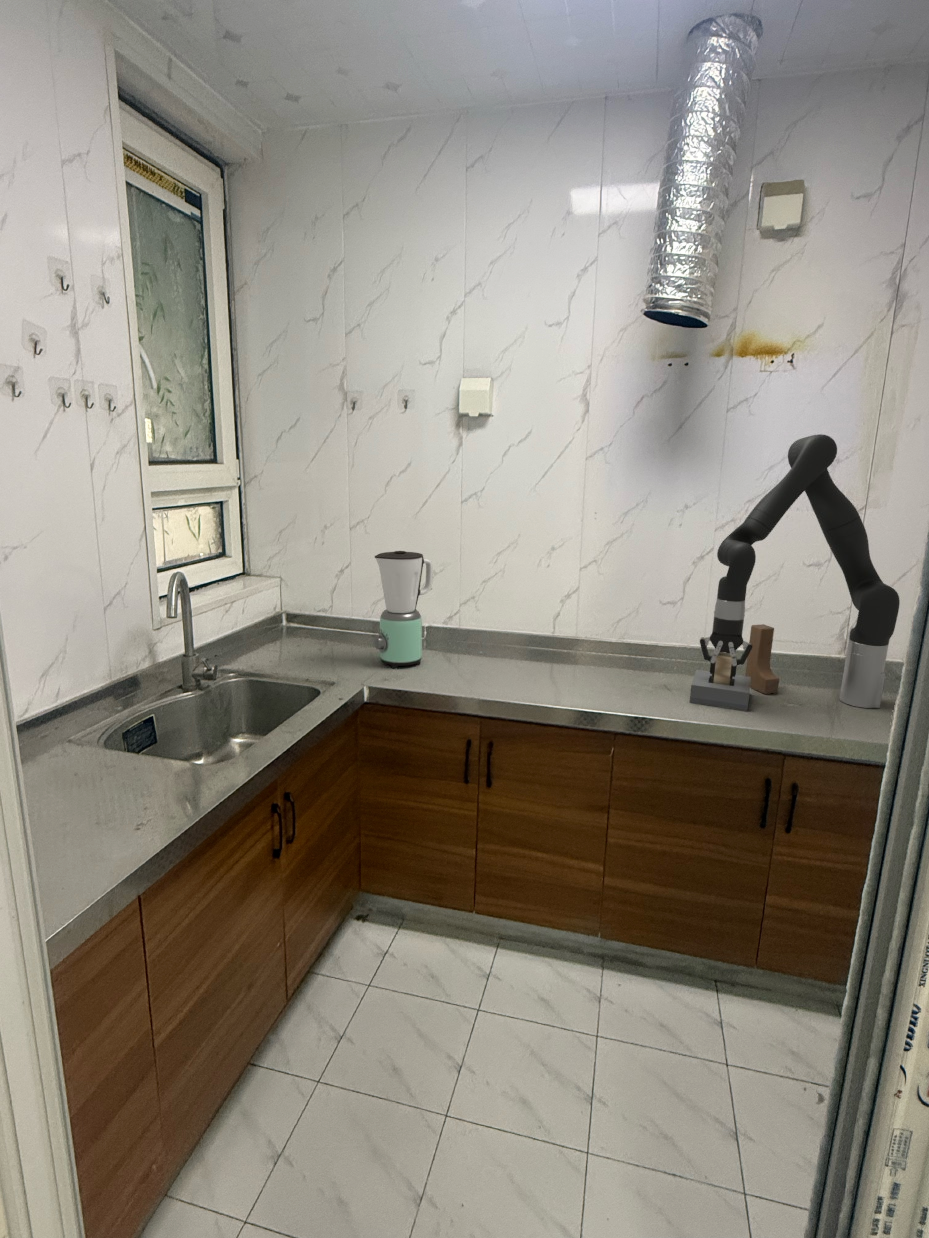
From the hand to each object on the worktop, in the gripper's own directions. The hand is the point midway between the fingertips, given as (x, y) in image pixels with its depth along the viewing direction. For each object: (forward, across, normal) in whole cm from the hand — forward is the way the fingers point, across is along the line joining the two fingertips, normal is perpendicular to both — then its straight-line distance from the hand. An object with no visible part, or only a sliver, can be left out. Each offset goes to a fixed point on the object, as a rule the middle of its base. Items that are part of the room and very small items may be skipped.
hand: (722, 676), depth 186 cm
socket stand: (+6, 0, 0) cm, 6 cm away
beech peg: (+4, 0, 0) cm, 4 cm away
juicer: (+6, +93, +11) cm, 94 cm away
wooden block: (+6, -10, -13) cm, 18 cm away
